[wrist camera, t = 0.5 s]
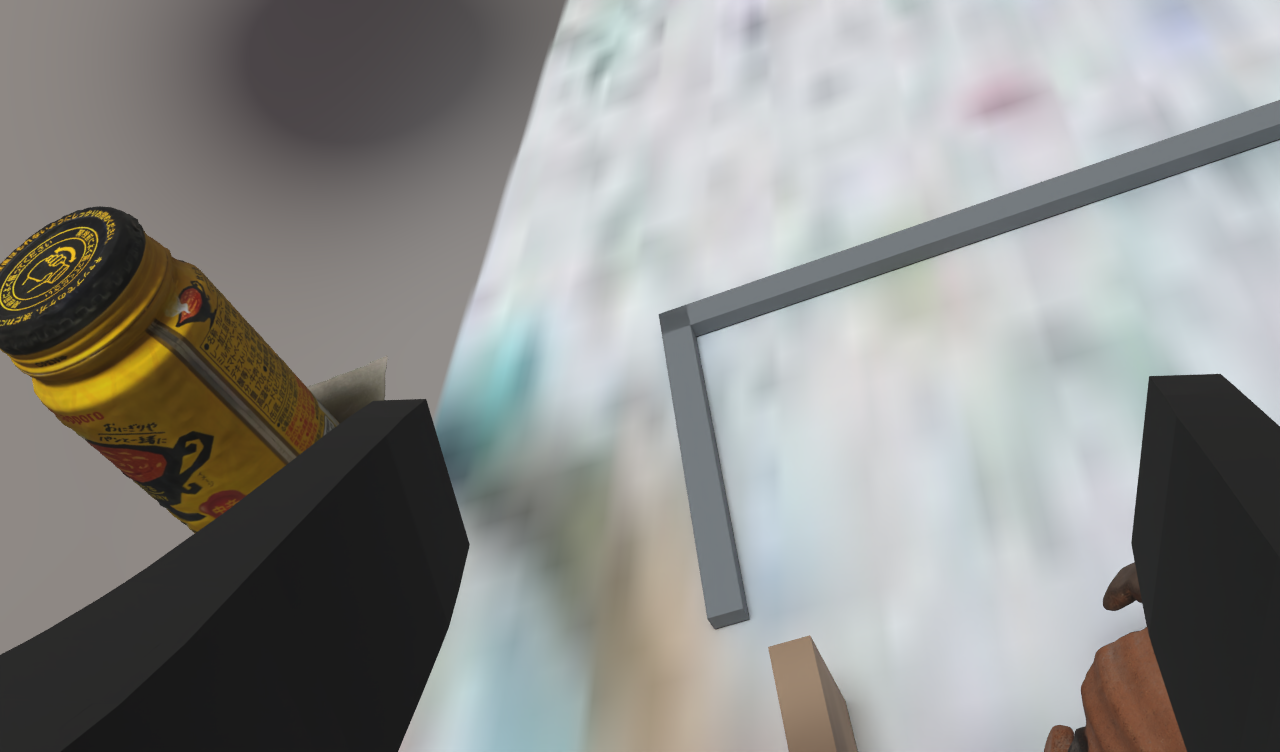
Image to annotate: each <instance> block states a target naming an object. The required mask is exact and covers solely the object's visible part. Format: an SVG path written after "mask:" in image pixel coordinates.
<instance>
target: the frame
mask: <svg viewBox="0 0 1280 752" xmlns="http://www.w3.org/2000/svg"><path fill="white" fill-rule="evenodd" d="M1278 139H1280V100H1278V101H1275V102H1272V103H1270V104H1267V105H1264V106H1261V107H1258V108H1255V109H1252V110H1249V111H1246V112H1243V113H1241V114H1238V115H1235V116H1232V117H1229V118H1226V119H1223V120H1220V121H1217V122H1214V123H1212V124H1209V125H1206V126H1203V127H1200V128H1197V129H1194V130H1191V131H1188V132H1185V133H1183V134H1180V135H1177V136H1174V137H1171V138H1168V139H1165V140H1162V141H1159V142H1157V143H1154V144H1151V145H1148V146H1145V147H1142V148H1139V149H1136V150H1133V151H1130V152H1128V153H1125V154H1122V155H1119V156H1116V157H1113V158H1110V159H1107V160H1104V161H1101V162H1099V163H1096V164H1093V165H1090V166H1087V167H1084V168H1081V169H1078V170H1075V171H1073V172H1070V173H1067V174H1064V175H1061V176H1058V177H1055V178H1052V179H1049V180H1046V181H1044V182H1041V183H1038V184H1035V185H1032V186H1029V187H1026V188H1023V189H1020V190H1017V191H1015V192H1012V193H1009V194H1006V195H1003V196H1000V197H997V198H994V199H991V200H988V201H986V202H983V203H980V204H977V205H974V206H971V207H968V208H965V209H962V210H960V211H957V212H954V213H951V214H948V215H945V216H942V217H939V218H936V219H933V220H931V221H928V222H925V223H922V224H919V225H916V226H913V227H910V228H907V229H904V230H902V231H899V232H896V233H893V234H890V235H887V236H884V237H881V238H878V239H875V240H873V241H870V242H867V243H864V244H861V245H858V246H855V247H852V248H849V249H847V250H844V251H841V252H838V253H835V254H832V255H829V256H826V257H823V258H820V259H818V260H815V261H812V262H809V263H806V264H803V265H800V266H797V267H794V268H791V269H789V270H786V271H783V272H780V273H777V274H774V275H771V276H768V277H765V278H762V279H760V280H757V281H754V282H751V283H748V284H745V285H742V286H739V287H736V288H734V289H731V290H728V291H725V292H722V293H719V294H716V295H713V296H710V297H707V298H705V299H702V300H699V301H696V302H693V303H690V304H687V305H684V306H681V307H678V308H676V309H673V310H670V311H667V312H664V313H661V314H659V319H660V325H661V331H662V338H663V344H664V350H665V356H666V363H667V369H668V375H669V381H670V388H671V394H672V400H673V406H674V413H675V419H676V425H677V431H678V438H679V444H680V450H681V456H682V463H683V469H684V475H685V481H686V488H687V494H688V500H689V506H690V513H691V519H692V525H693V531H694V538H695V544H696V550H697V556H698V563H699V569H700V575H701V581H702V588H703V594H704V600H705V606H706V613H707V619H708V620H709V622H710V623H711V625H712V626H713V628H714V629H716V628H720V627H723V626H727V625H730V624H734V623H737V622H741V621H744V620H748V619H749V615H748V609H747V604H746V599H745V594H744V588H743V583H742V578H741V572H740V567H739V562H738V557H737V551H736V546H735V541H734V535H733V530H732V525H731V520H730V514H729V509H728V504H727V498H726V493H725V488H724V483H723V477H722V472H721V467H720V461H719V456H718V451H717V446H716V440H715V435H714V430H713V424H712V419H711V414H710V409H709V403H708V398H707V393H706V387H705V382H704V377H703V372H702V366H701V361H700V356H699V350H698V345H697V340H696V337H697V336H700V335H703V334H706V333H708V332H711V331H714V330H717V329H720V328H723V327H726V326H729V325H732V324H735V323H738V322H741V321H744V320H747V319H750V318H753V317H756V316H759V315H762V314H765V313H767V312H770V311H773V310H776V309H779V308H782V307H785V306H788V305H791V304H794V303H797V302H800V301H803V300H806V299H809V298H812V297H815V296H818V295H821V294H824V293H826V292H829V291H832V290H835V289H838V288H841V287H844V286H847V285H850V284H853V283H856V282H859V281H862V280H865V279H868V278H871V277H874V276H877V275H880V274H883V273H886V272H888V271H891V270H894V269H897V268H900V267H903V266H906V265H909V264H912V263H915V262H918V261H921V260H924V259H927V258H930V257H933V256H936V255H939V254H942V253H945V252H947V251H950V250H953V249H956V248H959V247H962V246H965V245H968V244H971V243H974V242H977V241H980V240H983V239H986V238H989V237H992V236H995V235H998V234H1001V233H1004V232H1006V231H1009V230H1012V229H1015V228H1018V227H1021V226H1024V225H1027V224H1030V223H1033V222H1036V221H1039V220H1042V219H1045V218H1048V217H1051V216H1054V215H1057V214H1060V213H1063V212H1066V211H1068V210H1071V209H1074V208H1077V207H1080V206H1083V205H1086V204H1089V203H1092V202H1095V201H1098V200H1101V199H1104V198H1107V197H1110V196H1113V195H1116V194H1119V193H1122V192H1125V191H1127V190H1130V189H1133V188H1136V187H1139V186H1142V185H1145V184H1148V183H1151V182H1154V181H1157V180H1160V179H1163V178H1166V177H1169V176H1172V175H1175V174H1178V173H1181V172H1184V171H1186V170H1189V169H1192V168H1195V167H1198V166H1201V165H1204V164H1207V163H1210V162H1213V161H1216V160H1219V159H1222V158H1225V157H1228V156H1231V155H1234V154H1237V153H1240V152H1243V151H1246V150H1248V149H1251V148H1254V147H1257V146H1260V145H1263V144H1266V143H1269V142H1272V141H1275V140H1278Z"/></svg>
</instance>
